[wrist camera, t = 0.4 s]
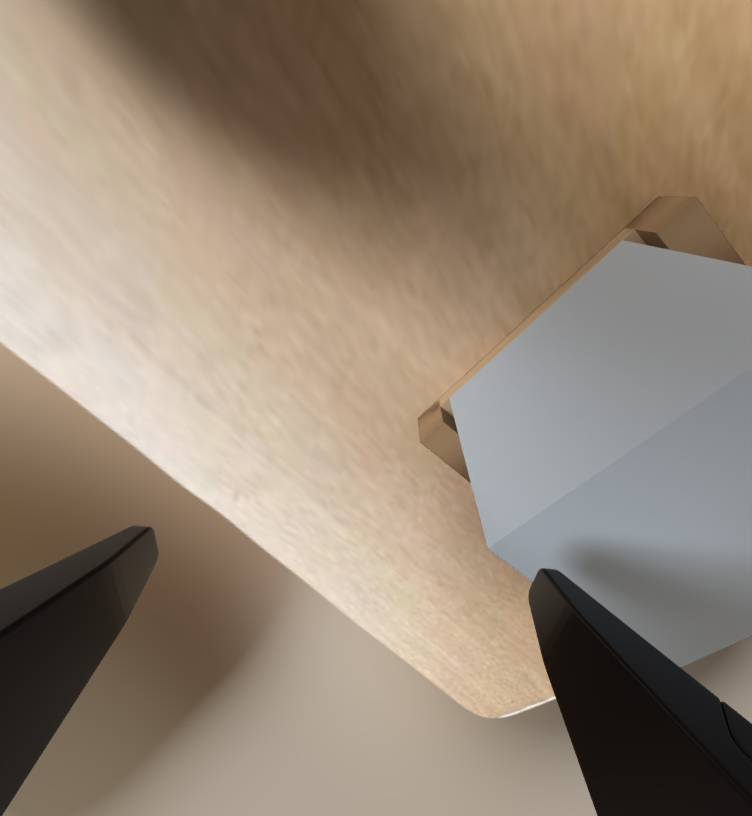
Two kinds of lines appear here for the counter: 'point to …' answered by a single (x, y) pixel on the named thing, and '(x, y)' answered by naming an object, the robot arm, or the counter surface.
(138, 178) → the counter surface
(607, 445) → the block
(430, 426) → the chute
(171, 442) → the counter surface
